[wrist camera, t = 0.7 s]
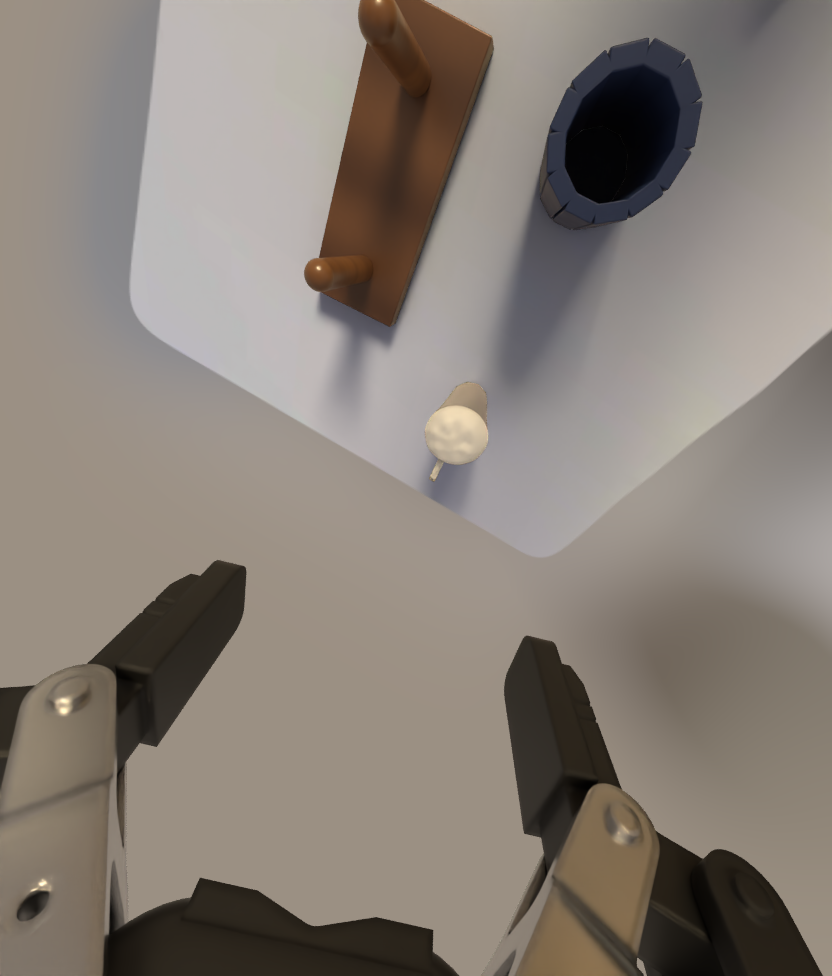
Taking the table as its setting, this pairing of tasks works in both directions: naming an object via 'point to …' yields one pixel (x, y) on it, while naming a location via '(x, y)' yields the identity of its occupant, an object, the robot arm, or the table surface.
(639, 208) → the navy ribbed cylinder
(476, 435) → the milkshake
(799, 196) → the table surface
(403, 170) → the rack
